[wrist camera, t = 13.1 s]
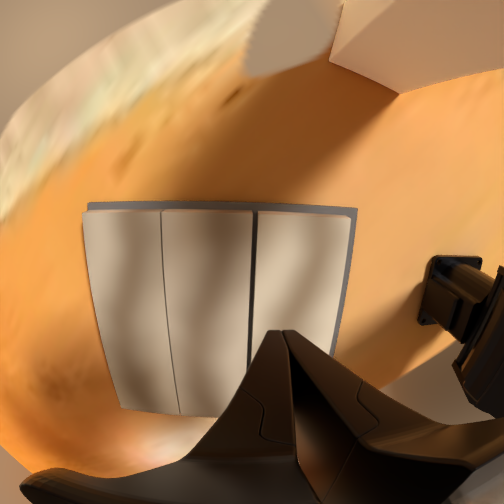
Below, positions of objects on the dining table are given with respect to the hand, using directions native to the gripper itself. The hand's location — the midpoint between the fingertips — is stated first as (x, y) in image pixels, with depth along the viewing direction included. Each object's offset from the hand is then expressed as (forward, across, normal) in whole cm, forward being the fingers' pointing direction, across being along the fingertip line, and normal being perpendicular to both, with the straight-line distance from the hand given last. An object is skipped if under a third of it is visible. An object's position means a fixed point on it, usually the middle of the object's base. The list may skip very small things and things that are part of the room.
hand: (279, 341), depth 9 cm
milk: (+12, -8, -15) cm, 21 cm away
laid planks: (+12, +6, +7) cm, 15 cm away
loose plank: (+12, -3, +7) cm, 14 cm away
